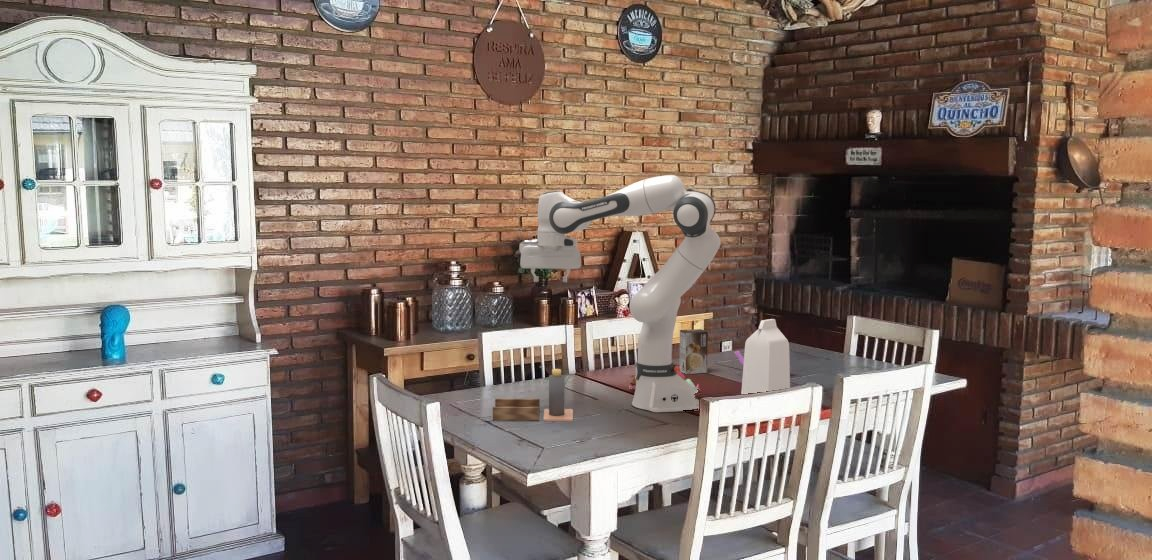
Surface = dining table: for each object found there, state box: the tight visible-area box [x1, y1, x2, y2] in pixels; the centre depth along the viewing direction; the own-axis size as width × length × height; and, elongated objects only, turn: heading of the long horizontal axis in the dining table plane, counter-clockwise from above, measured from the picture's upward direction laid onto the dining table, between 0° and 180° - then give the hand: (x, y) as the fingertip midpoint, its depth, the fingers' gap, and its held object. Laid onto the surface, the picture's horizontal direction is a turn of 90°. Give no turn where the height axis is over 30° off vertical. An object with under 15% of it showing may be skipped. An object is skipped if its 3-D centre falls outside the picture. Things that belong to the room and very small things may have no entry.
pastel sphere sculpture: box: [628, 371, 700, 394], centre depth 314 cm, size 25×24×9 cm
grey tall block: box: [548, 368, 565, 416], centre depth 278 cm, size 5×5×14 cm
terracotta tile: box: [543, 408, 574, 422], centre depth 279 cm, size 9×12×1 cm
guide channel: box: [492, 398, 541, 422], centre depth 278 cm, size 14×11×4 cm
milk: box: [740, 318, 791, 395], centre depth 307 cm, size 12×12×26 cm
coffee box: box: [679, 328, 709, 375], centre depth 342 cm, size 9×6×16 cm
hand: (550, 282), depth 297 cm, fingers open, 8 cm apart
